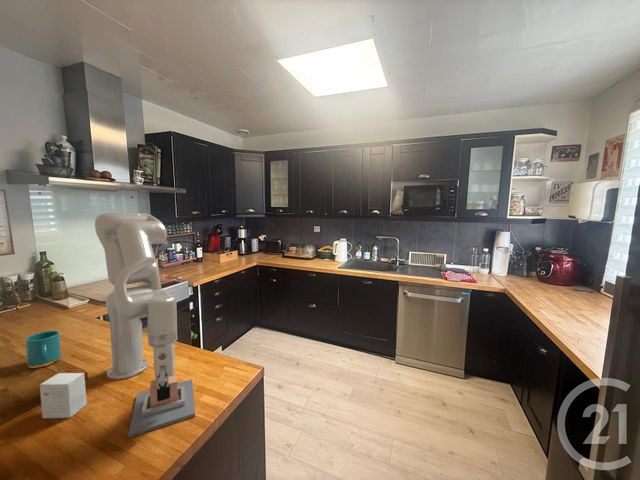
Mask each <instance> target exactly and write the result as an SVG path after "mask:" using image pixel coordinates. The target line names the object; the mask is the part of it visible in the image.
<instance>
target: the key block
mask: <svg viewBox="0 0 640 480" xmlns="http://www.w3.org/2000/svg"><path fill="white" fill-rule="evenodd" d="M165 381H166V382H167V378H165ZM177 383H178V375H177V374H174V375H173V376H170V377H169V385H170V398H169V399H166V400H162V401H159V402H158V401H157V388H158V380H156V379H154V380H150V386H149V390H150V405H151V408H153V407H157V406H160V405H164V404H167V403H171V402H174V401H177Z"/></svg>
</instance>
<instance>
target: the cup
mask: <svg viewBox="0 0 640 480" xmlns="http://www.w3.org/2000/svg"><path fill="white" fill-rule="evenodd" d="M60 334H61V333H60V331H58V330H47V331H41V332H38V333H34V334H33V335H30V336H28V337H27V338H25V351H26V365H28V366H36V365H43V364H46V363H49V362H51V361H53V360H54V359H58V360H59V361H60V360H61V358H62V352H61V336H60ZM28 366H27V367H28Z"/></svg>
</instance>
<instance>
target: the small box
mask: <svg viewBox="0 0 640 480" xmlns="http://www.w3.org/2000/svg"><path fill="white" fill-rule="evenodd" d="M39 391H40V394H39V395H40V405H41V418H42V419H68V418H69V419H70V418H72V417H73V416H74V415H76V414H77V413H78V412H79V411H80V410H82V409H83V408H84V407H85V406H86V405H87V403H88V402H87V392H86V391H87V390H86V379H85V372H59V373H56V374H55V375H53V376H52V377H50V378H48V379H46V380H44V382H43V381H42V383H40V384H39Z"/></svg>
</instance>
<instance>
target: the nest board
mask: <svg viewBox="0 0 640 480" xmlns="http://www.w3.org/2000/svg"><path fill="white" fill-rule="evenodd" d="M194 397H195V395H194V386H193V378H192V379H188V380H183V381H181V382H177V401H174V402H171V403H167V404H164V405H160V406H157V407H153V408H151V405H150V389H149V390H145V391H141V392H137V394H136V397H135V403H134V407H133V412H132V416H131V420H130V426H129V430H128V434H127V436H128V438H129V439H130V438H132V437H134V436H138V435H141V434H145V433H147V432H150V431H154V430H157V429H160V428H162V427H163V428H164V427H165V426H169V425H172V424H176V423H179V422H182V421H185V420H187V419H190V418H194V417H196V408H195V399H194Z"/></svg>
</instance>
